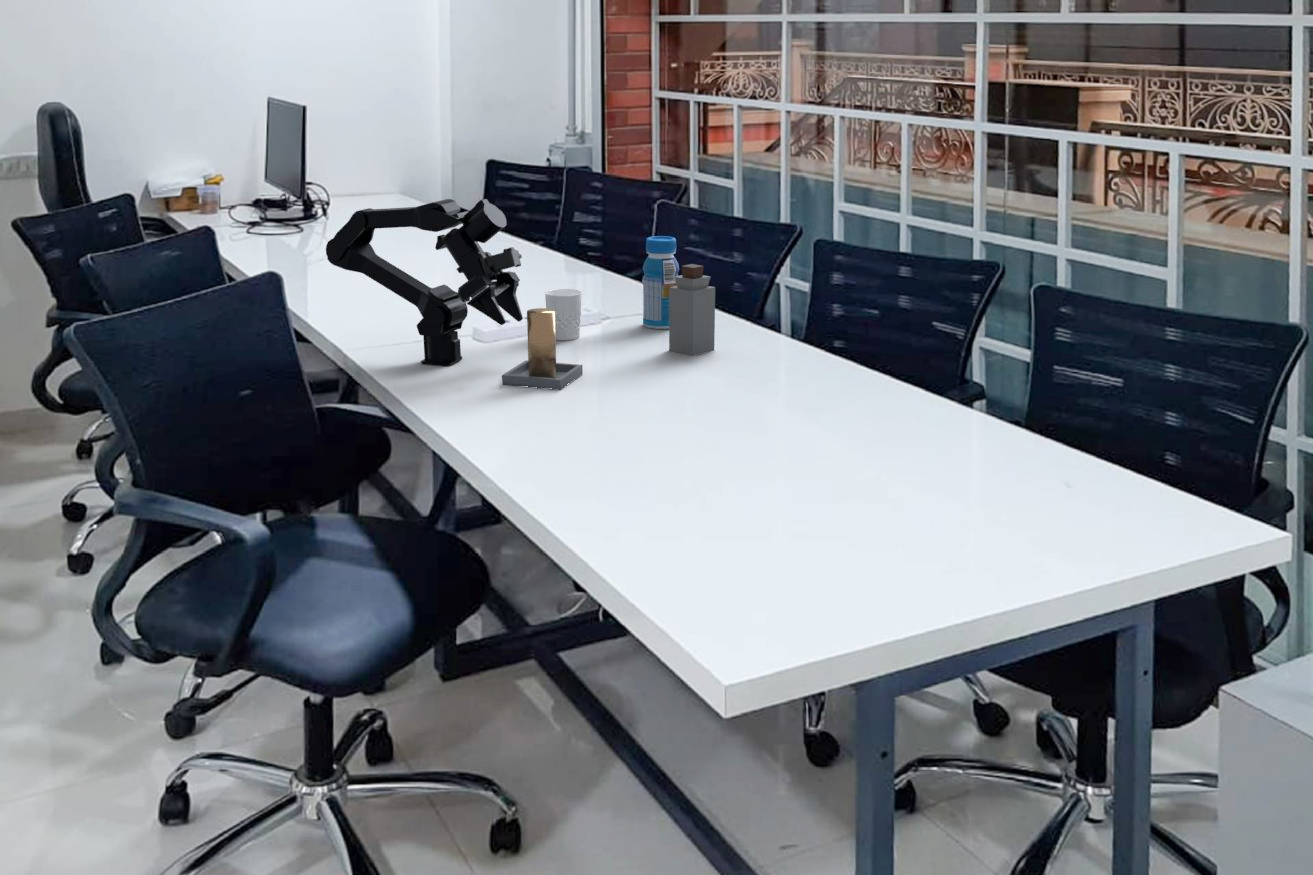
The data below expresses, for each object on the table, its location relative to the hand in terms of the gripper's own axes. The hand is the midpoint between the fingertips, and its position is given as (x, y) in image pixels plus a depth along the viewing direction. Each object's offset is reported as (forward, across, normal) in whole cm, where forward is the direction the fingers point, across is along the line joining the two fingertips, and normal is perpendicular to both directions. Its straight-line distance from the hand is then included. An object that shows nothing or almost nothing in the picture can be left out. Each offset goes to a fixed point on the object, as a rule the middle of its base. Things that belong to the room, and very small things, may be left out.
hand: (512, 322), depth 273 cm
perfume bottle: (+23, +28, -20) cm, 41 cm away
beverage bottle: (+13, +48, -12) cm, 51 cm away
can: (+13, -4, 0) cm, 13 cm away
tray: (+13, -4, 0) cm, 14 cm away
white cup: (+5, +32, +4) cm, 32 cm away
